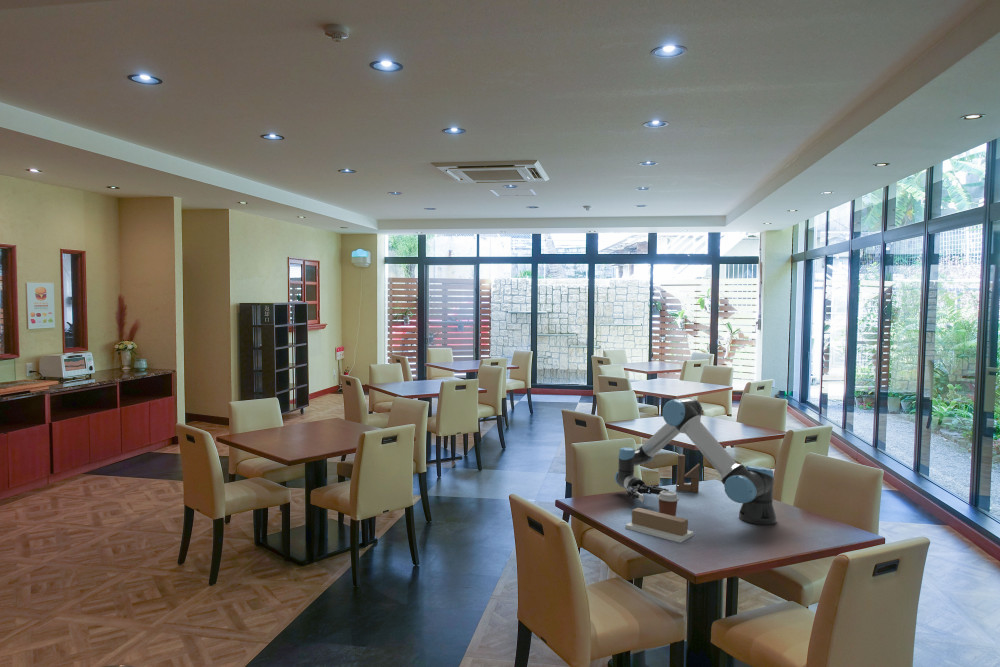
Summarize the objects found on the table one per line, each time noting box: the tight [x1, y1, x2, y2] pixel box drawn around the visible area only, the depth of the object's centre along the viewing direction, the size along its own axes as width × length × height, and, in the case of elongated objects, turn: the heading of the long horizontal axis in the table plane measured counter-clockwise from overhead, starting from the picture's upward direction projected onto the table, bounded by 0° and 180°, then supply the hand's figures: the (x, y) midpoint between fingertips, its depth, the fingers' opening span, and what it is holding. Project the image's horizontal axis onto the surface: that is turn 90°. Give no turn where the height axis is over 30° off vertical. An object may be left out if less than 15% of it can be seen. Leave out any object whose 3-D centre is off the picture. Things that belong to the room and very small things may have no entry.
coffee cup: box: [656, 490, 680, 517], centre depth 278 cm, size 9×9×12 cm
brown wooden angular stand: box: [675, 454, 700, 494], centre depth 327 cm, size 4×11×18 cm, turn 76°
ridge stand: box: [624, 507, 694, 544], centre depth 263 cm, size 24×12×7 cm, turn 50°
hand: (656, 498), depth 287 cm, fingers open, 13 cm apart
